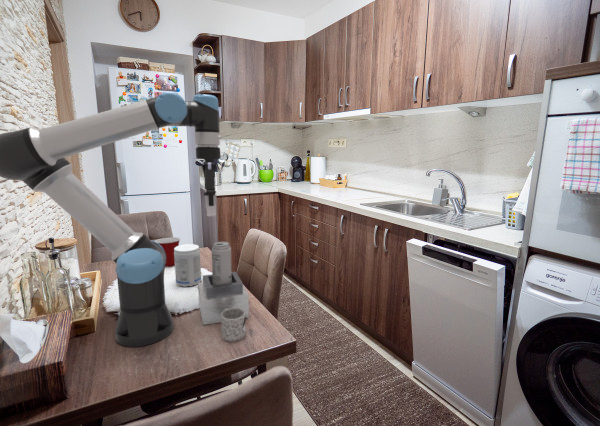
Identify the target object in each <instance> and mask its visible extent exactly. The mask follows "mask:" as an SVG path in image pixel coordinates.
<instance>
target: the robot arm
mask: <svg viewBox="0 0 600 426" xmlns="http://www.w3.org/2000/svg"><path fill="white" fill-rule="evenodd" d="M218 99H219V98H218V97H216V95H212V94H204V93H202V94H201V93H200V94H195V95H194V96H193V98H192V100H188V101H187V100H185V99H184V98H183V96H181V95H180V94H179V93H177V92H175V91H164V92H161V94H159V95H158V96H154V97H151V98H148V99H144V100H141V101H137V102H134V103H129V104H127V105H126V104H125V105H122V106H119V107H116V108H112V109H109V110H106V111H101V112H98V113H95V114H91V115H87V116H84V117H80V118H76V119H73V120H70V121H65V122H62V123H59V124H56V125H51V126H47V127H45V128H37V127H35V126H31V127H27V128H23V129H19V130H15V131H9V132H3V133H0V178H3V179H5V180H10V181H22V182H23V183H24V184H25V185H26V186H27V187H28V188H30V189H31V190H32V191H33V192H40V193H41V192H42V193H44V194H46V196H47V197H49V198H50V199H51V200H53V202H54V203H56V204H57V205H58V206H59V207H60V208H62V210H63V211H65V213H67V215H69V216H71V218H73V220H75V221H76V222H77V223H78V224H79V225H80V226H82V227H83V228H84V229H85V230H86V231H87V232H89V233H90V234H91V235H92V237H94V238H95V239H96V240H97V241H99V243H101V244H102V246H104V247H105V248H107V250H109V251H110V252H111V260H112V261H113V262H114V263H115V264H116V267H115V272H116V273H115V274H116V278H117V287H118V289H117V290H118V298H119V299H118V300H119V309H120V310H119V315H118V318H117V320H116V321H117V323H116V326H115V328H114V329H115V330H114V336H115V337H114V338H115V341H116V343H117V344H119V345H121V346H124V347H132V348H135V347H143V346H147V345H152V344H154V343H157V342H160V341H161V340H163V339H165V338H166V337H168V336H169V335H170V334H172V332H173V329H174V320H173V316H172V315H171V313H170V310H169V308H168V305H167V303H166V294H165V293H166V291H165V269H166V266H165V265H166V254H165V252H164V249H163V248H162V247H161V245H159V244H158V243H157V242H155V241H156V240H151V239H150V238H149V237H147V236H146V234H145V233H143V232H135V231H134V230H133V229H132V228H131V227H130V226H129V225H128V224H127V223H126V222H124V221H123V220H122V219H121V217H119V215H117V214H116V213H115V212H114V211H113V210H112V209H111V208H110V207H109V206H108V205H107V204H105V202H104V201H102V200H101V199H100V198H99V197H98V196H97V195H96V194H95V193H94V192H93V191H92V190H90V189H89V187H87V185H85V184H84V183H83V182H82V181H81V180H80V179H79V178H78V177H77V176H76V175H75V174H74V173H73V164H72V163H70V162H69V161H68V160H67V157H71V156H73V155H77V154H80V153H84V152H86V151H90V150H93V149H96V148H100V147H102V146H106V145H109V144H112V143H115V142H119V141H121V140H125V139H128V138H132V137H135V136H138V135H142V134H144V133H148V132H151V131H154V130H157V129H162V128H165V127H189V128H192V127H193V128H194V144H195V146H196V147H195V157H196V158H195V159H197V160H204V161H203V164H201V166H202V172H203V173H202V174H203V178H204V189H205V190H204V192H203V196H204V198H205V199H204V200H205V201H204V202H205V209H206V217H216V216H217V211H216V210H217V209H216V208H217V207H216V206H217V205H216V192H217V191H216V184H215V183H216V182H215V181H216V180H215V178H216V165H215V162H213V160H219V159H221V148H220V147H219V146H221V141H220V140H222V138H223V137H222V136H221V135H220V109H219V108H220V107H219V106H220V105H219V100H218Z"/></svg>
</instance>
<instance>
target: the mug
mask: <svg viewBox="0 0 600 426" xmlns="http://www.w3.org/2000/svg"><path fill="white" fill-rule="evenodd" d="M220 323H221V325H220V326H221V338H222V339H223V340H224V341H225V342H237V341H240V340H242V339H243V338H245V336H246V318H245V312H244V310H242V309H239V308H230V309H224V311H223V312H222V313H221V322H220Z"/></svg>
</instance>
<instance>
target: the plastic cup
mask: <svg viewBox="0 0 600 426" xmlns="http://www.w3.org/2000/svg"><path fill="white" fill-rule="evenodd" d="M154 241H155V242H157V243H158V244H159V245H161V247H162V248H163V249H164V252H165V254H166V265H165V267H173V266H175V260H174V248H175V247H177V246H179V243H180V241H181V238H180V237H163V238H158V239H155V240H154Z"/></svg>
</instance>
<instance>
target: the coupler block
mask: <svg viewBox="0 0 600 426" xmlns="http://www.w3.org/2000/svg"><path fill="white" fill-rule="evenodd" d="M231 272H232V283H230V284H222V285H214V286H213V278H212V274H205V275H202V282H200V283H198V284H197V288H198V289H197V293H198V307H200V308H199V312H200V317H201V321H202V325H203V326H206V325H212V324H218V323H221V313H222V312H223V311H224V309H230V308H239V309H242V310H244V312H245V319H247V318H249V317H250V311H249V310H250V307H249V305H250V303H249V301H250V300H249V297H250V294H249V292H248V290H247V288H246V287H245V285H244V284H243V281H242V280H241V278H240V276H239V275H238V272H236V271H231Z"/></svg>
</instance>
